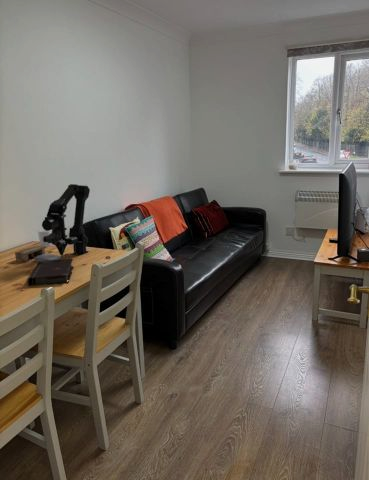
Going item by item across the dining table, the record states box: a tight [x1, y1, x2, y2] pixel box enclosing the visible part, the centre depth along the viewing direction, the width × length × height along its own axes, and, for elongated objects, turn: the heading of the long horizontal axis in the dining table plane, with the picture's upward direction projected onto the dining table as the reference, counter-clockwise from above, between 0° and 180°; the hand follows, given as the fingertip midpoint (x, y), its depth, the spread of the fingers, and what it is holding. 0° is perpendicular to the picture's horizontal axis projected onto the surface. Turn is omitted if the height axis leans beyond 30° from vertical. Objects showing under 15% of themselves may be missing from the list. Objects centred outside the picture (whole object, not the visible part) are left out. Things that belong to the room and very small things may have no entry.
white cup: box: [37, 228, 53, 248], centre depth 244 cm, size 8×8×10 cm
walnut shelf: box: [14, 244, 46, 263], centre depth 219 cm, size 7×15×5 cm, turn 158°
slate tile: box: [33, 253, 63, 263], centre depth 215 cm, size 12×8×2 cm, turn 66°
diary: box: [26, 258, 74, 287], centre depth 190 cm, size 19×25×5 cm
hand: (61, 255), depth 211 cm, fingers closed
